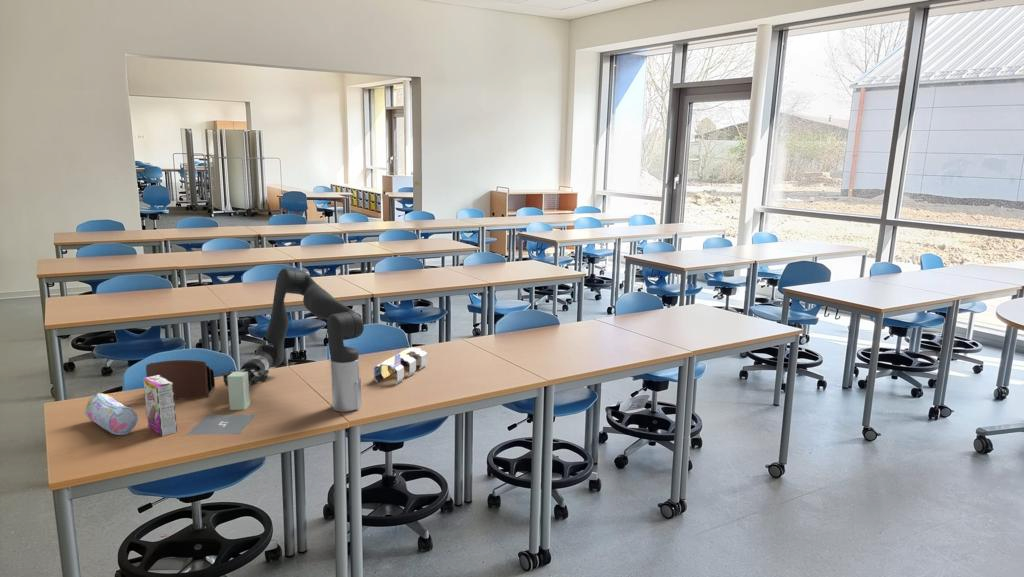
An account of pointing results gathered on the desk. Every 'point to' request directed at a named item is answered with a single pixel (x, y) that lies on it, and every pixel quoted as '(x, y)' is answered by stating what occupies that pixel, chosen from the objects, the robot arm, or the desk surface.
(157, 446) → the desk surface
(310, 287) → the robot arm
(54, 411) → the desk surface
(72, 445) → the desk surface
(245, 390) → the green block
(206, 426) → the gray tile
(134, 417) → the pencil case
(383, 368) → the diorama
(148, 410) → the candy bar box
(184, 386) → the letter holder
